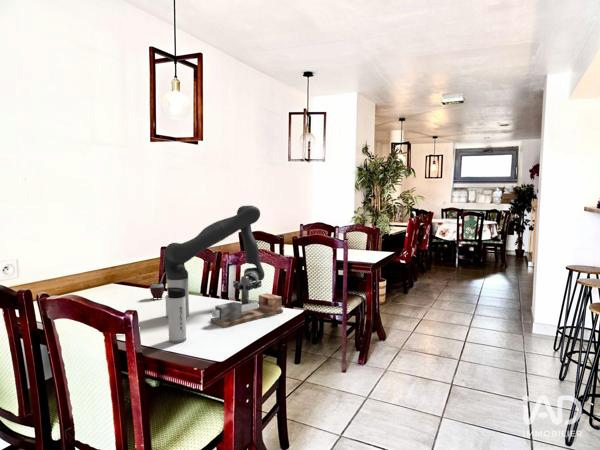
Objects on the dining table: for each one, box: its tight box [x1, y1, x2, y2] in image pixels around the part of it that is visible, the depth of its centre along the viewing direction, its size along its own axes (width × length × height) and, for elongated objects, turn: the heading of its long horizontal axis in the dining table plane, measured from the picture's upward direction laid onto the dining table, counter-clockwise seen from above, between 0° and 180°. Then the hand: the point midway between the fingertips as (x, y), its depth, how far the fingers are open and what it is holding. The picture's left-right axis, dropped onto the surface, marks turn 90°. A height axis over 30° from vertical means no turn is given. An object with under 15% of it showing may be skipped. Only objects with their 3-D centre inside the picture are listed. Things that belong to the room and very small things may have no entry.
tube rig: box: [210, 292, 284, 328], centre depth 181 cm, size 32×11×8 cm, turn 134°
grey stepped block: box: [211, 275, 259, 318], centre depth 176 cm, size 22×3×15 cm, turn 134°
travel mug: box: [166, 287, 187, 344], centre depth 150 cm, size 6×7×20 cm
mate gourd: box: [149, 271, 166, 299], centre depth 216 cm, size 8×8×15 cm
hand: (244, 288), depth 176 cm, fingers closed on grey stepped block, 3 cm apart
